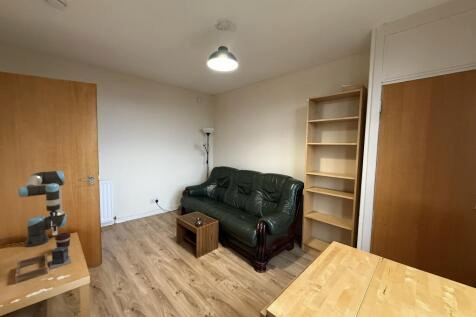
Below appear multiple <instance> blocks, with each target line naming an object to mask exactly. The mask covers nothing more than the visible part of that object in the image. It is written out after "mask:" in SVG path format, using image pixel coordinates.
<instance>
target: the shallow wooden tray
mask: <svg viewBox="0 0 476 317" xmlns="http://www.w3.org/2000/svg"><path fill="white" fill-rule="evenodd" d="M42 262H44V267H41V268H37V269H33V270H31V271H27V272H24V273H21V268H26V267H29V266H33V265H36V264H40V263H42ZM48 268H49V267H48V253H45V254H41V255H37V256H34V257H30V258H25V259H23V260H18V261H17V263H16V269H15V270H16V271H15V275H14V279H15V280H14V283H15V284H16V283H17V284H20V283H23V282H26V281H29V280H32V279H35V278H38V277H42V276H44V275H49V271H48V270H49V269H48Z"/></svg>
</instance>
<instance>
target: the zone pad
mask: <svg viewBox="0 0 476 317" xmlns="http://www.w3.org/2000/svg"><path fill="white" fill-rule="evenodd" d="M69 264H70V265H71V264H72V260H71V257H70V255H68V260H67V261H66V262H65V263H59V264H52V260H49V270H53V269H56V268H59V267H63V266H66V265H69Z"/></svg>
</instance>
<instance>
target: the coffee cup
mask: <svg viewBox="0 0 476 317" xmlns="http://www.w3.org/2000/svg"><path fill="white" fill-rule="evenodd" d="M70 237H71V233H69V232H60V233H59V234H57V235H55V237H54V240H55V245H56V248H57V247H68V251H70V242H71V239H70Z"/></svg>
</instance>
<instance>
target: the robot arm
mask: <svg viewBox="0 0 476 317" xmlns="http://www.w3.org/2000/svg"><path fill="white" fill-rule="evenodd" d="M65 178H66V177H65V173H64V171H63V170H51V171H39V172H35V173H33V174H31V175H29V176H28V177H27V178H26V179H25V180H26V184H25V185H24V186H20V187H19V188H18V190H17V191H18V196H19V197H20V198H27V197H28V198H29V197H36V196H45V201H44V202H45V204H46V211H47V212H49V214H48V215H47V216H45V215H39V216H35V217H34V216H33V217H31V218H30V219H28V220H27V222H26V224H27V225H26V227H27V238H26V241H25V244H24V245H25V246H26V247H29V248H31V247H38V246H41V245H44V244H46V243H48V242H49V240H50V238H49V235H48V234H47V231H48V230H51V232H52V236H57V235H58V229H60V228H63V227H65V226H66V223H67V216H68V215H67V213H65V211H64V210H63V192H62V191H63V188H62V187H63V186H64V184H65V183H66V179H65Z"/></svg>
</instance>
